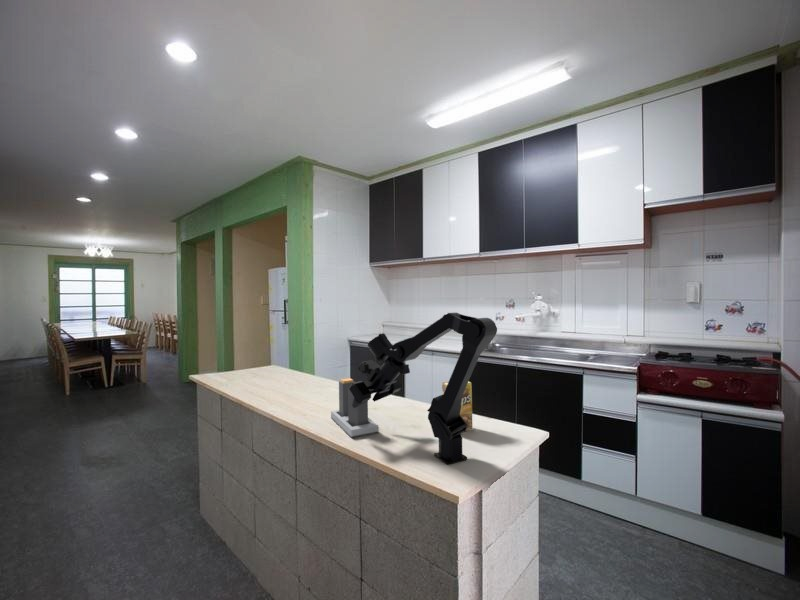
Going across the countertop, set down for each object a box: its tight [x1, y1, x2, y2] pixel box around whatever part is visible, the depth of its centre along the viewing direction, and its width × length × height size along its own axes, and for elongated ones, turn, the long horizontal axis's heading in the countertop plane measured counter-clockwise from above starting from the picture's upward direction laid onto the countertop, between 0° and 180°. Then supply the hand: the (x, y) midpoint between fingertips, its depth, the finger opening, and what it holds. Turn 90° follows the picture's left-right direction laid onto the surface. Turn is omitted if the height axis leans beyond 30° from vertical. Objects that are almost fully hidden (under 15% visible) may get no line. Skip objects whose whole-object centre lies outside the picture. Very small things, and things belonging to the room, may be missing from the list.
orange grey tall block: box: [348, 389, 369, 427], centre depth 117 cm, size 4×4×14 cm
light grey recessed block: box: [330, 409, 379, 439], centre depth 122 cm, size 22×9×2 cm, turn 27°
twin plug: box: [338, 377, 356, 417], centre depth 127 cm, size 4×4×14 cm
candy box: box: [441, 380, 474, 432], centre depth 116 cm, size 9×4×15 cm, turn 107°
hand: (363, 403), depth 116 cm, fingers open, 9 cm apart
